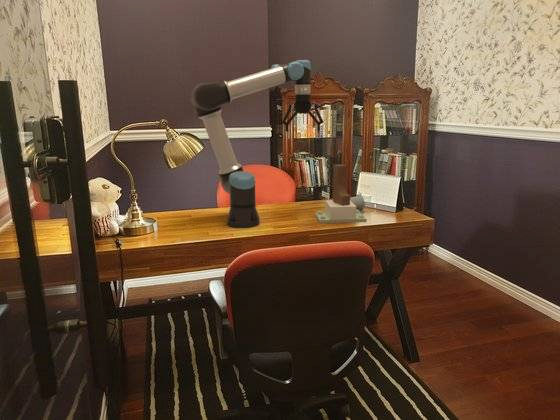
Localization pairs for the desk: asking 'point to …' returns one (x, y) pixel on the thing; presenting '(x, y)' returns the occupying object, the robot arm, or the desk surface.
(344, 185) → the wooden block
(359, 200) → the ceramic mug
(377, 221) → the desk surface
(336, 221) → the tower base
